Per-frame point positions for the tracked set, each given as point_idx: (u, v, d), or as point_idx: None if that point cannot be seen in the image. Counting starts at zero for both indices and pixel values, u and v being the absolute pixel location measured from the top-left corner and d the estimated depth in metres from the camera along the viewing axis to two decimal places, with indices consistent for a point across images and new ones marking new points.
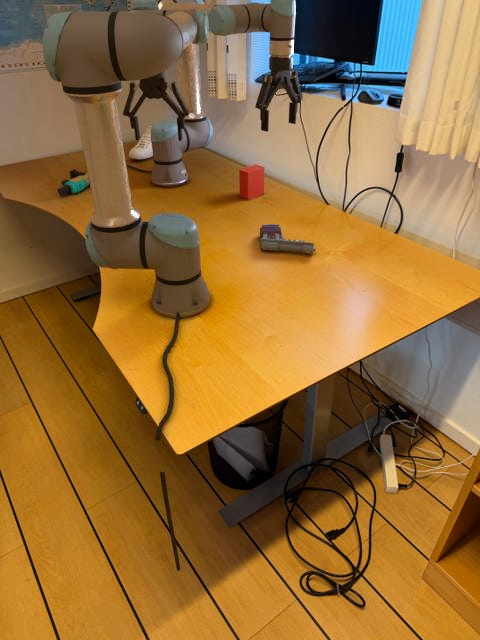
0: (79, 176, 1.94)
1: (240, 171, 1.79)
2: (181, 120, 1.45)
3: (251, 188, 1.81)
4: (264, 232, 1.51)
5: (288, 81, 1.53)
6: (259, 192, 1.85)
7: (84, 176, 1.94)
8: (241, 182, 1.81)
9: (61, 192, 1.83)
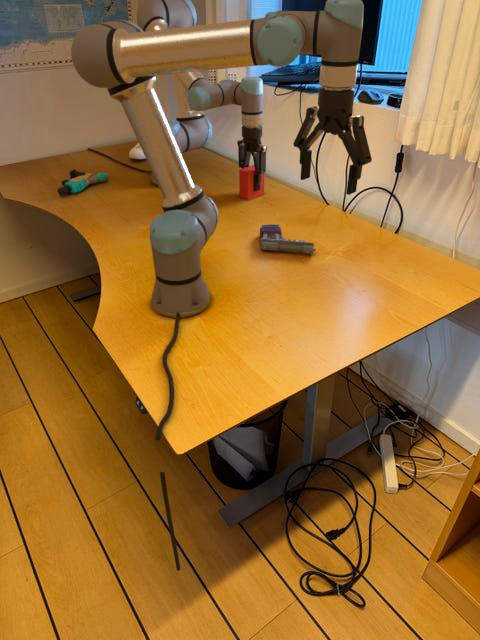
0: (79, 176, 1.94)
1: (240, 171, 1.79)
2: (356, 168, 1.04)
3: (251, 188, 1.81)
4: (264, 232, 1.51)
5: None
6: (259, 192, 1.85)
7: (84, 176, 1.94)
8: (241, 182, 1.81)
9: (61, 192, 1.83)
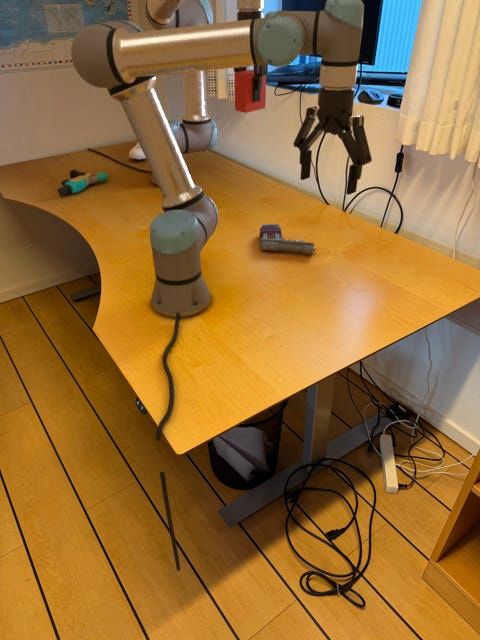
0: (79, 176, 1.94)
1: (235, 74, 1.42)
2: (356, 168, 1.04)
3: (249, 98, 1.44)
4: (264, 232, 1.51)
5: None
6: (259, 104, 1.48)
7: (84, 176, 1.94)
8: (237, 90, 1.44)
9: (61, 192, 1.83)
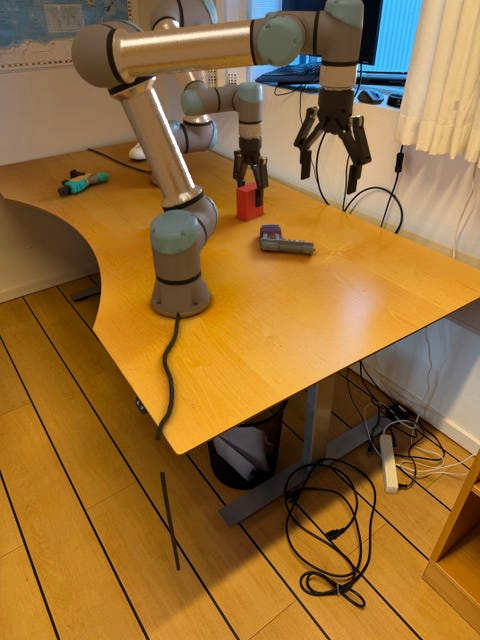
0: (79, 176, 1.94)
1: (237, 190, 1.63)
2: (356, 168, 1.04)
3: (249, 209, 1.65)
4: (264, 232, 1.51)
5: None
6: (258, 212, 1.69)
7: (84, 176, 1.94)
8: (238, 202, 1.65)
9: (61, 192, 1.83)
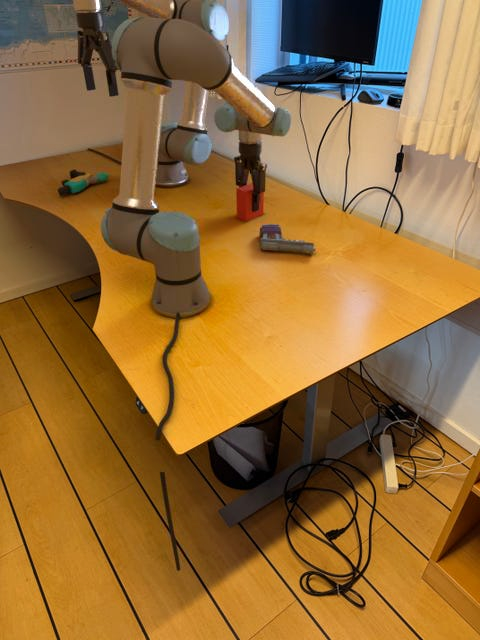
0: (79, 176, 1.94)
1: (237, 190, 1.63)
2: (256, 195, 1.63)
3: (249, 209, 1.65)
4: (264, 232, 1.51)
5: None
6: (258, 212, 1.69)
7: (84, 176, 1.94)
8: (238, 202, 1.65)
9: (61, 192, 1.83)
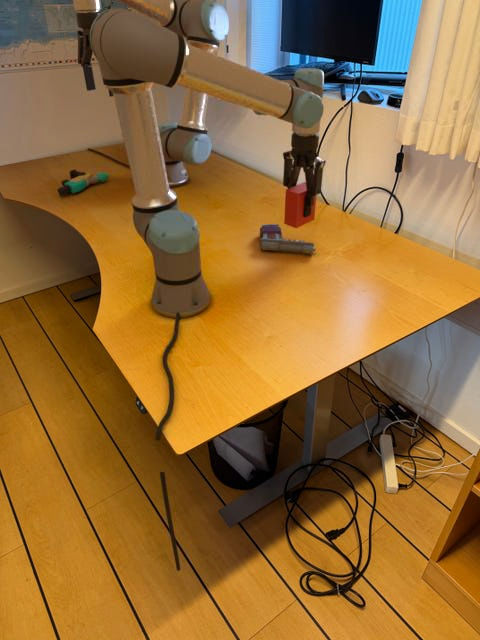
0: (79, 176, 1.94)
1: (287, 192, 1.37)
2: (309, 198, 1.37)
3: (300, 214, 1.39)
4: (264, 232, 1.51)
5: None
6: (309, 217, 1.43)
7: (84, 176, 1.94)
8: (288, 206, 1.39)
9: (61, 192, 1.83)
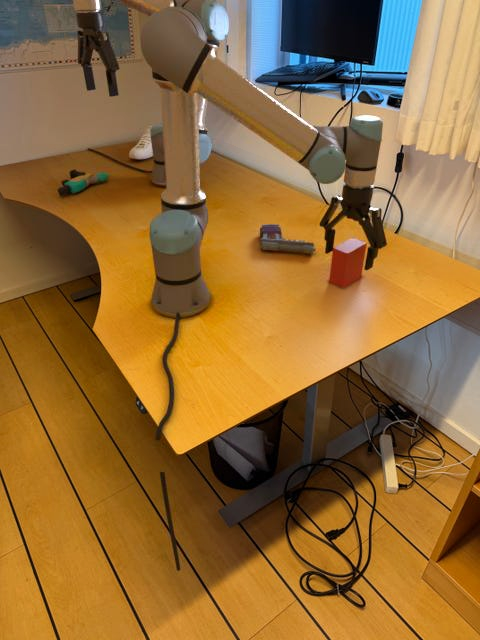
0: (79, 176, 1.94)
1: (334, 250, 1.27)
2: (373, 250, 1.22)
3: (348, 273, 1.29)
4: (264, 232, 1.51)
5: None
6: (356, 275, 1.33)
7: (84, 176, 1.94)
8: (334, 264, 1.29)
9: (61, 192, 1.83)
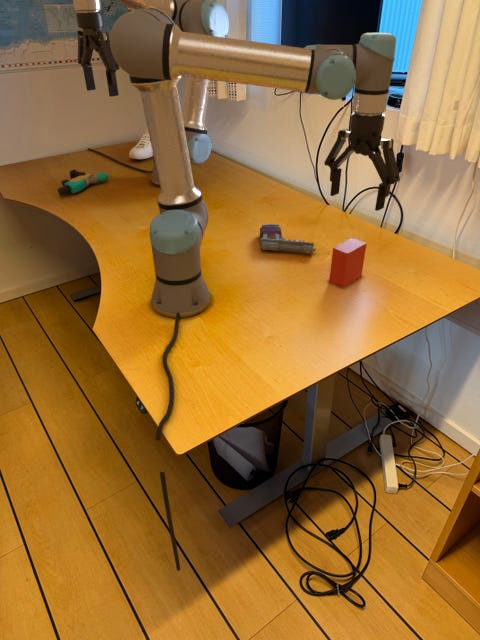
0: (79, 176, 1.94)
1: (334, 250, 1.27)
2: (385, 187, 1.12)
3: (348, 273, 1.29)
4: (264, 232, 1.51)
5: None
6: (356, 275, 1.33)
7: (84, 176, 1.94)
8: (334, 264, 1.29)
9: (61, 192, 1.83)
